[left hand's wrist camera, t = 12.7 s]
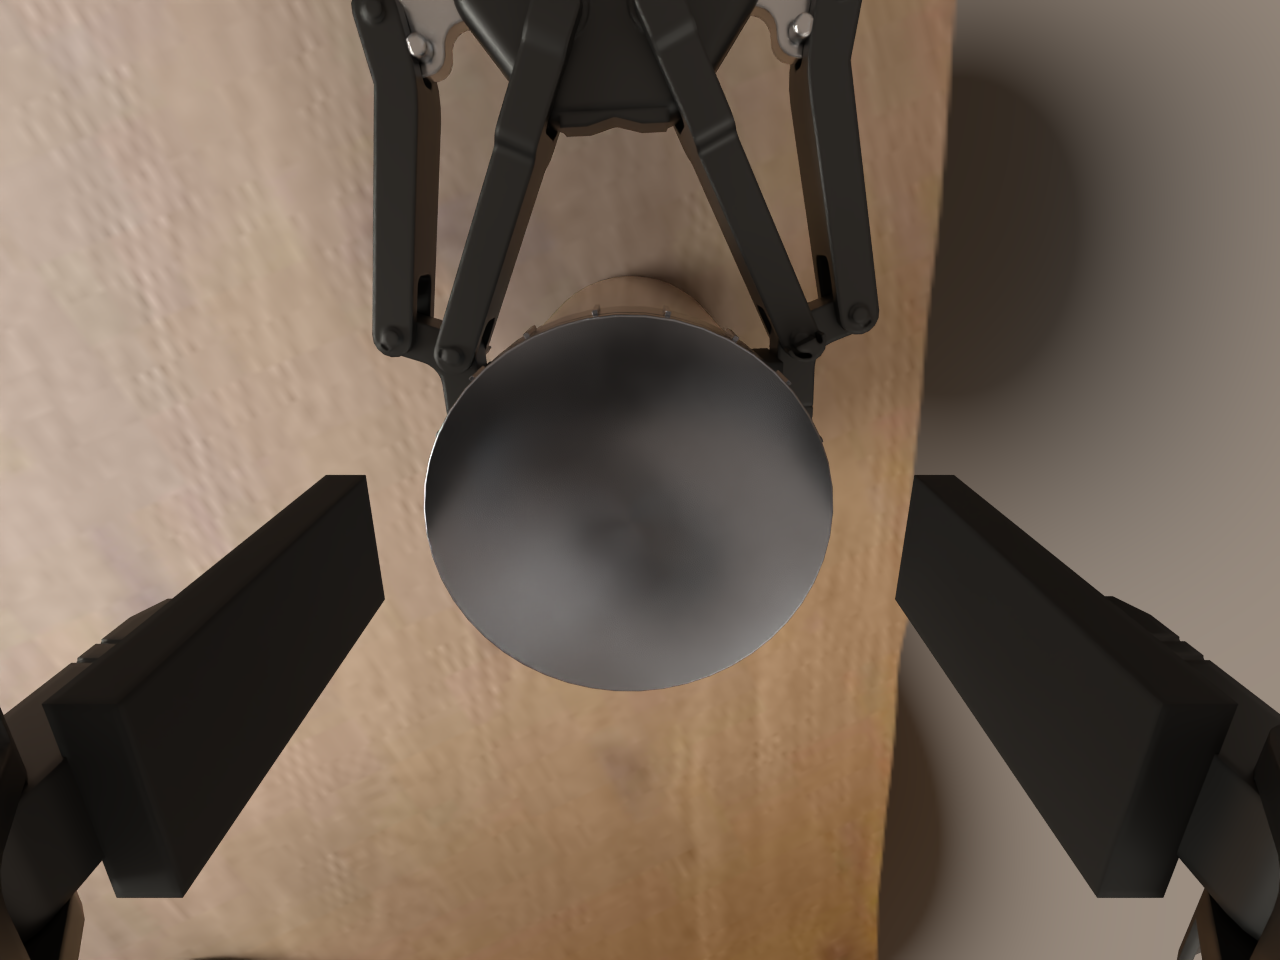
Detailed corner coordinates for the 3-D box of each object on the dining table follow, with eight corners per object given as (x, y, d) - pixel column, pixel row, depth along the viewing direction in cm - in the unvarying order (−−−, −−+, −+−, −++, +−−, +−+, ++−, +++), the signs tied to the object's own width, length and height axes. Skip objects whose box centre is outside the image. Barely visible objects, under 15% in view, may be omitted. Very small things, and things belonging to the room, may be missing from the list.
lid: (852, 600, 17) (873, 636, 16) (523, 692, 18) (513, 734, 16) (765, 246, 14) (781, 248, 13) (376, 378, 15) (347, 394, 13)
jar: (749, 435, 30) (851, 617, 16) (573, 489, 31) (523, 709, 17) (696, 247, 27) (764, 268, 13) (505, 313, 28) (375, 397, 14)
